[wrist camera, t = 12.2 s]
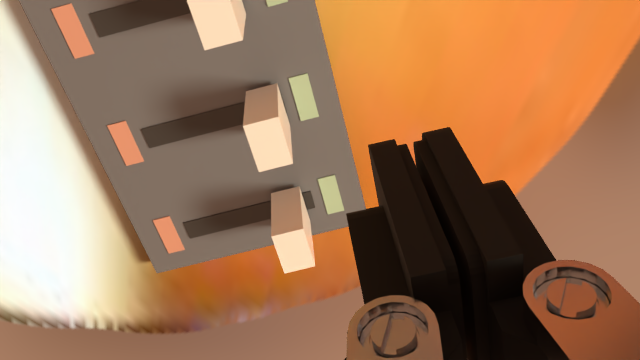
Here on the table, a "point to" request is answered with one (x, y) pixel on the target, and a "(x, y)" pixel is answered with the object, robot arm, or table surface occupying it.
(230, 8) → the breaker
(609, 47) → the table surface
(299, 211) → the block
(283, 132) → the block
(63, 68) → the breaker panel
